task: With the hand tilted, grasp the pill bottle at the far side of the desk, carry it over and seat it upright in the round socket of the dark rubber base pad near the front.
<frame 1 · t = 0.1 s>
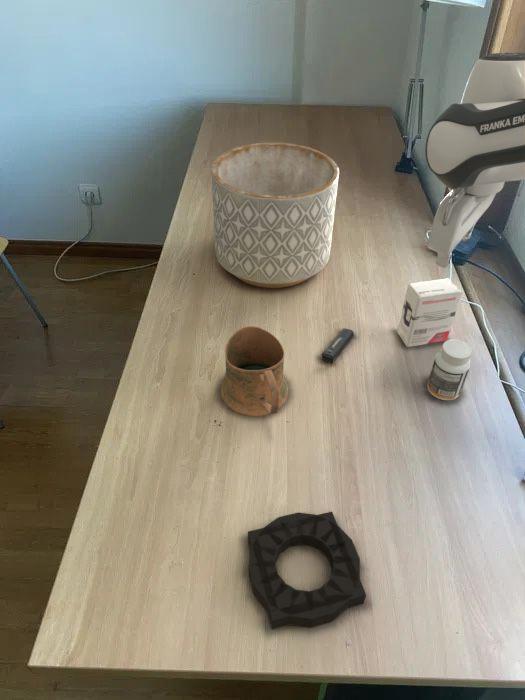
hand: (452, 251, 93), 21 cm above the table, tool pointing down, fingers open, 8 cm apart
usb stick: (337, 348, 106), on the table
mug: (259, 404, 96), on the table
base pad: (303, 571, 74), on the table
ink box: (421, 337, 109), on the table
pill bottle: (443, 390, 98), on the table
planter: (272, 262, 128), on the table
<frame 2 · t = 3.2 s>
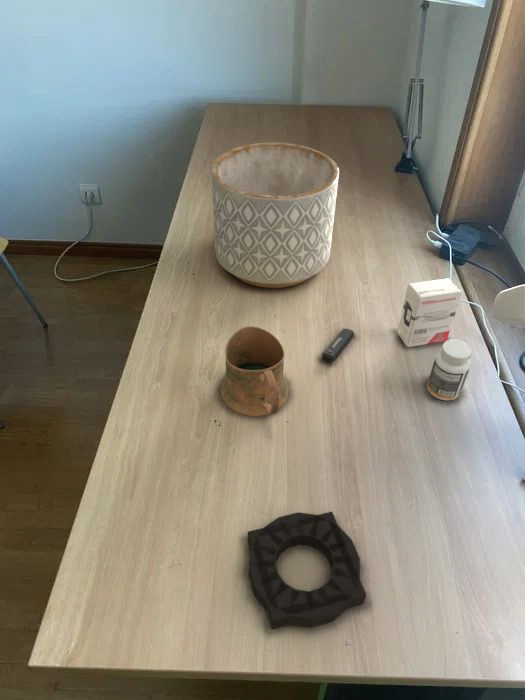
nothing on the table moved.
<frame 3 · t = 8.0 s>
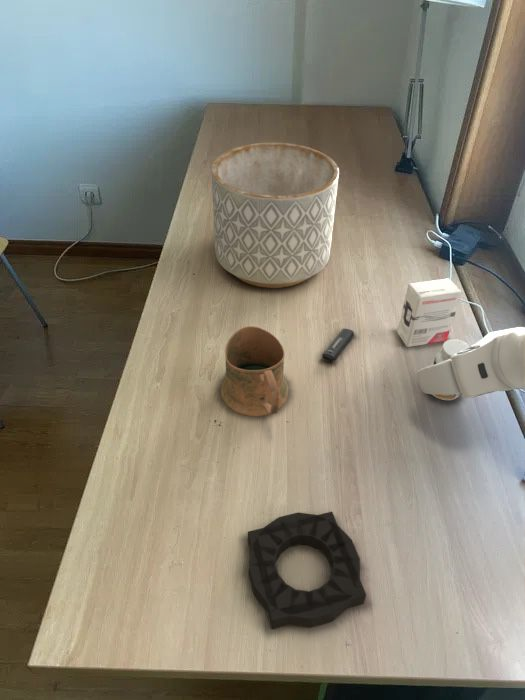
hand: (447, 365, 95), 5 cm above the table, tool tilted 45°, fingers closed on pill bottle, 6 cm apart
pill bottle: (442, 390, 98), on the table, touching gripper
everything else where it was.
when the fingers open (5 cm above the table, at t = 20.4 s): pill bottle stays where it is, resting in base pad.
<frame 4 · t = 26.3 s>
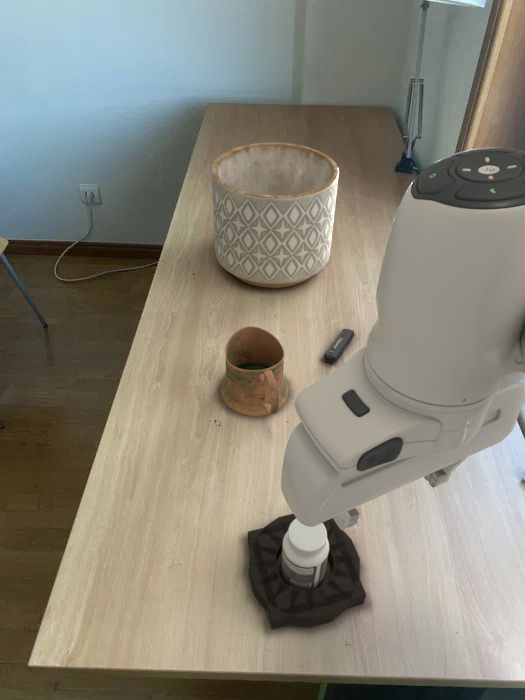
hand: (390, 499, 48), 29 cm above the table, tool pointing down, fingers open, 8 cm apart
pill bottle: (302, 572, 74), resting in base pad
everything else where it was.
at the end: pill bottle 0.1 cm off-centre in the base pad, point 0.0 cm above the base pad's base; pill bottle tilted 0°; the gripper is holding nothing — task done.
